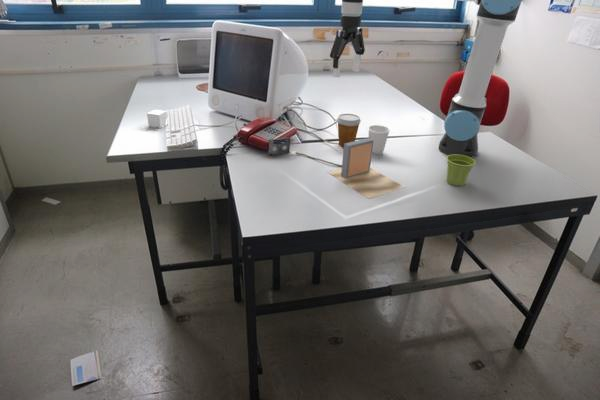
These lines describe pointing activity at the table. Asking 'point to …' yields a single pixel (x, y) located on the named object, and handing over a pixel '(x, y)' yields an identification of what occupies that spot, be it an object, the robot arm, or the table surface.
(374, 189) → the board
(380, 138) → the dixie cup
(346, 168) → the tile
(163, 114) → the adhesive note
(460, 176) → the plant pot
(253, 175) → the table surface
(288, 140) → the mini dv tape
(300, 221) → the table surface
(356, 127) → the disposable coffee cup
